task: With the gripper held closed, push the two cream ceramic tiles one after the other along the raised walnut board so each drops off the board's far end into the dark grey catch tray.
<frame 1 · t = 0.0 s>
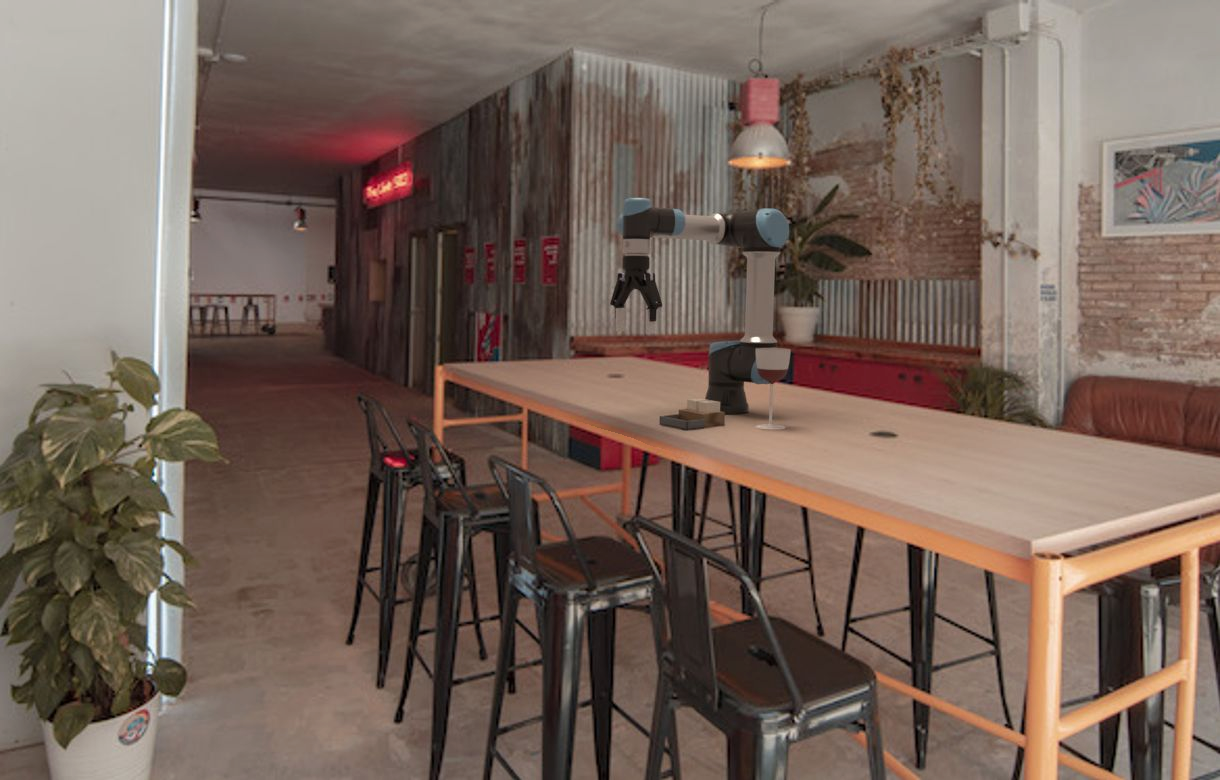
hand: (635, 332, 236), 28 cm above the table, fingers open, 13 cm apart
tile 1: (709, 411, 251), point 4 cm above the table, touching board
wineglass: (770, 427, 249), on the table
tray: (681, 426, 248), on the table
board: (701, 424, 253), on the table
tile 2: (697, 409, 255), point 4 cm above the table, touching board
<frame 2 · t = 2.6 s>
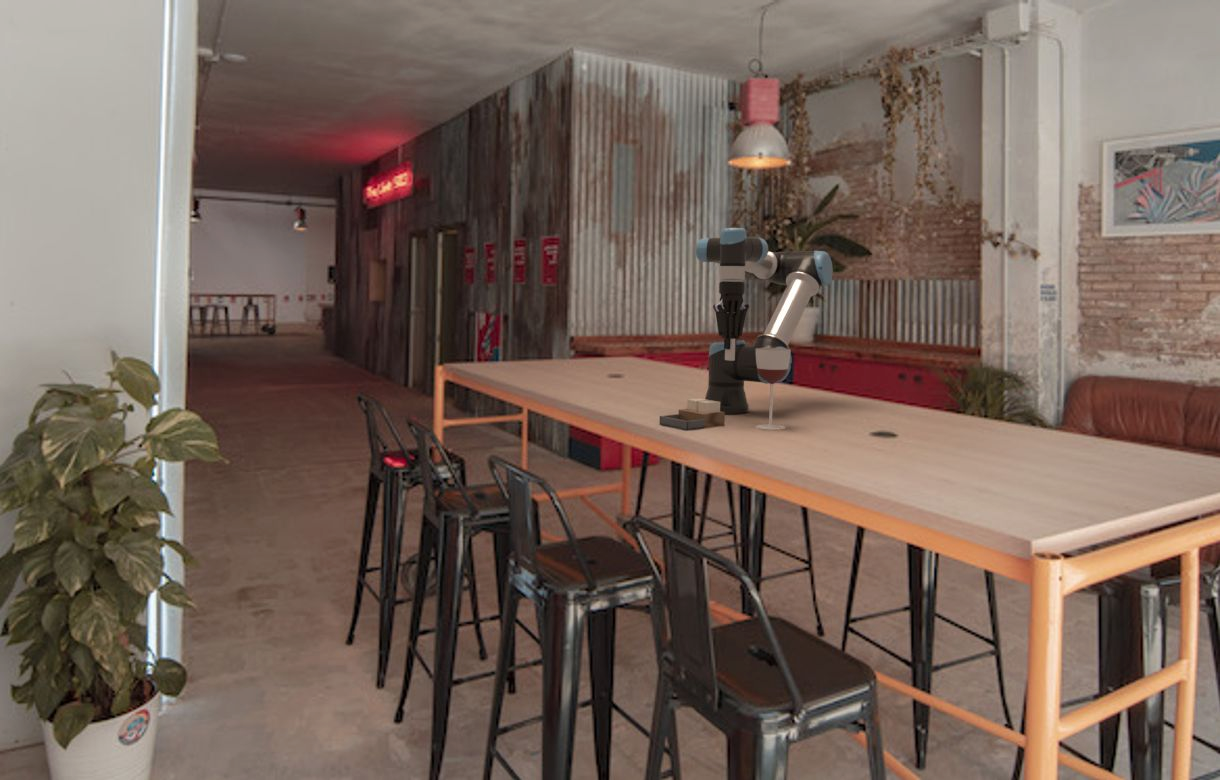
hand: (729, 360, 253), 19 cm above the table, fingers closed
nothing on the table moved.
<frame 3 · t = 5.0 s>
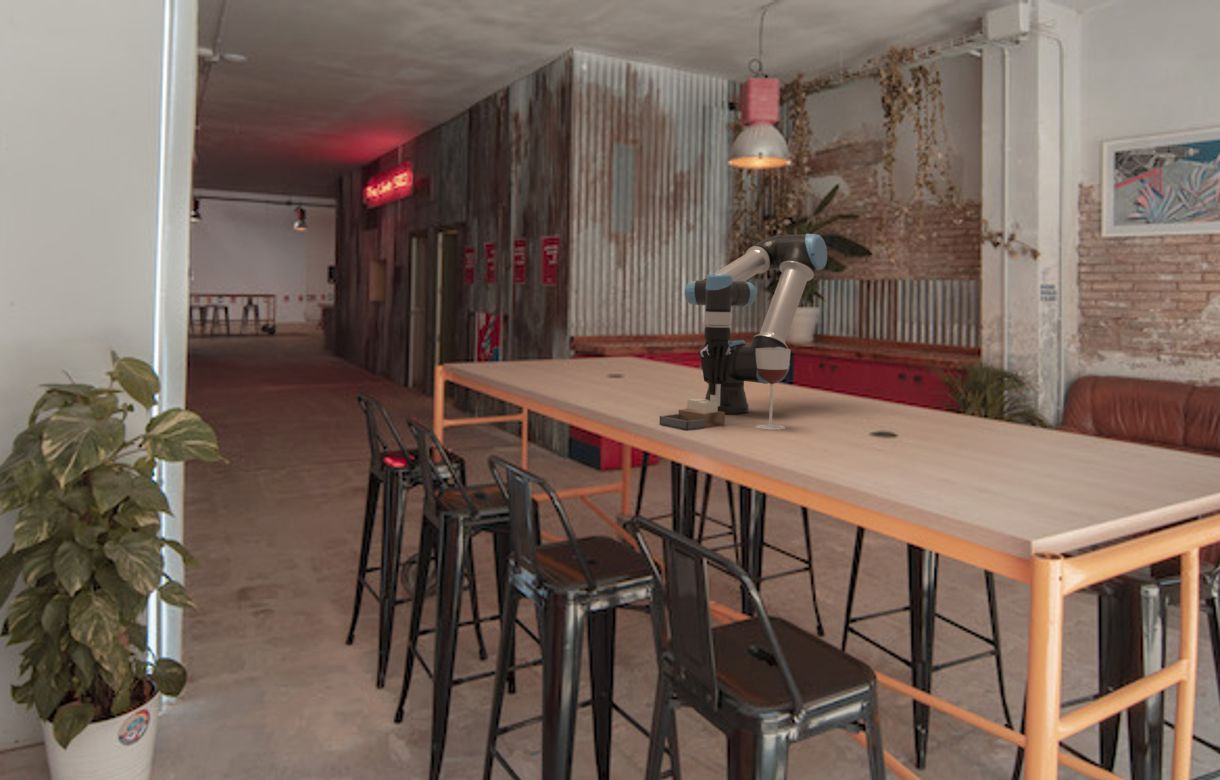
hand: (714, 405, 252), 6 cm above the table, fingers closed
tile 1: (706, 411, 250), point 4 cm above the table, touching board, gripper
everything else where it was.
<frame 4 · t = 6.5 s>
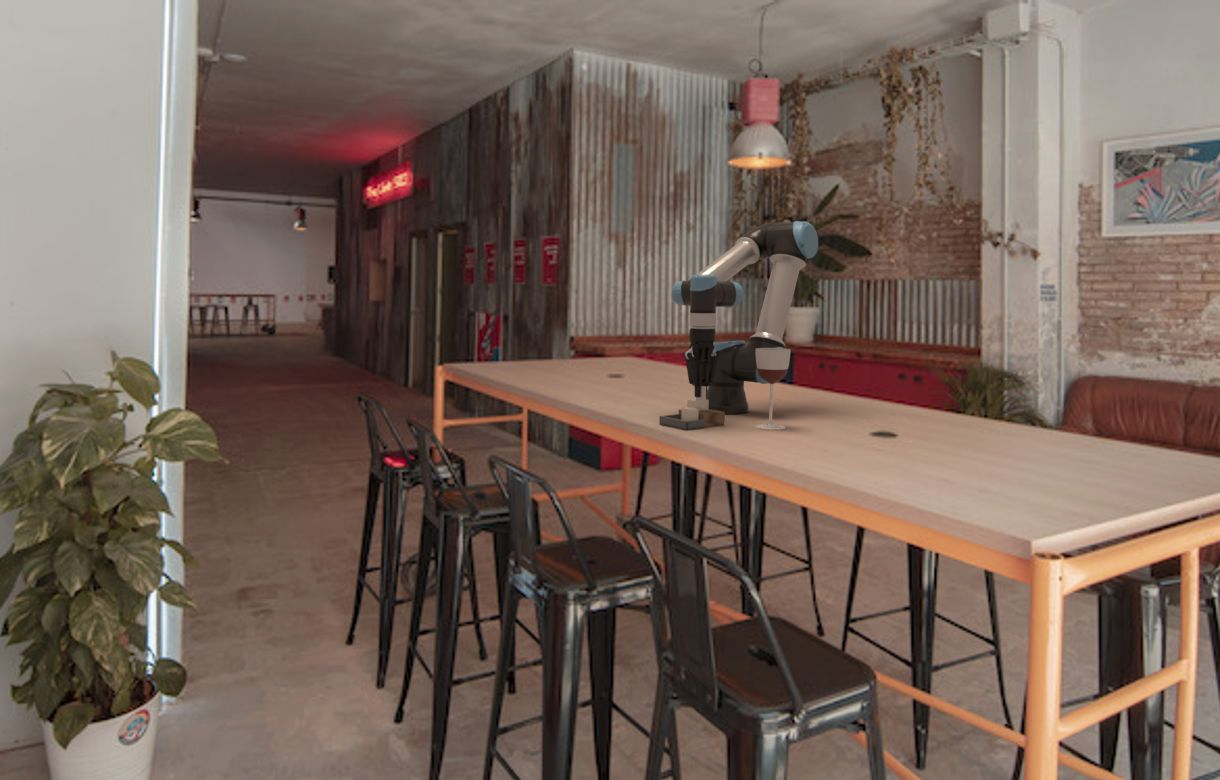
hand: (700, 407, 248), 5 cm above the table, fingers closed
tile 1: (693, 416, 247), point 3 cm above the table, tilted 90°, touching tray
everything else where it was.
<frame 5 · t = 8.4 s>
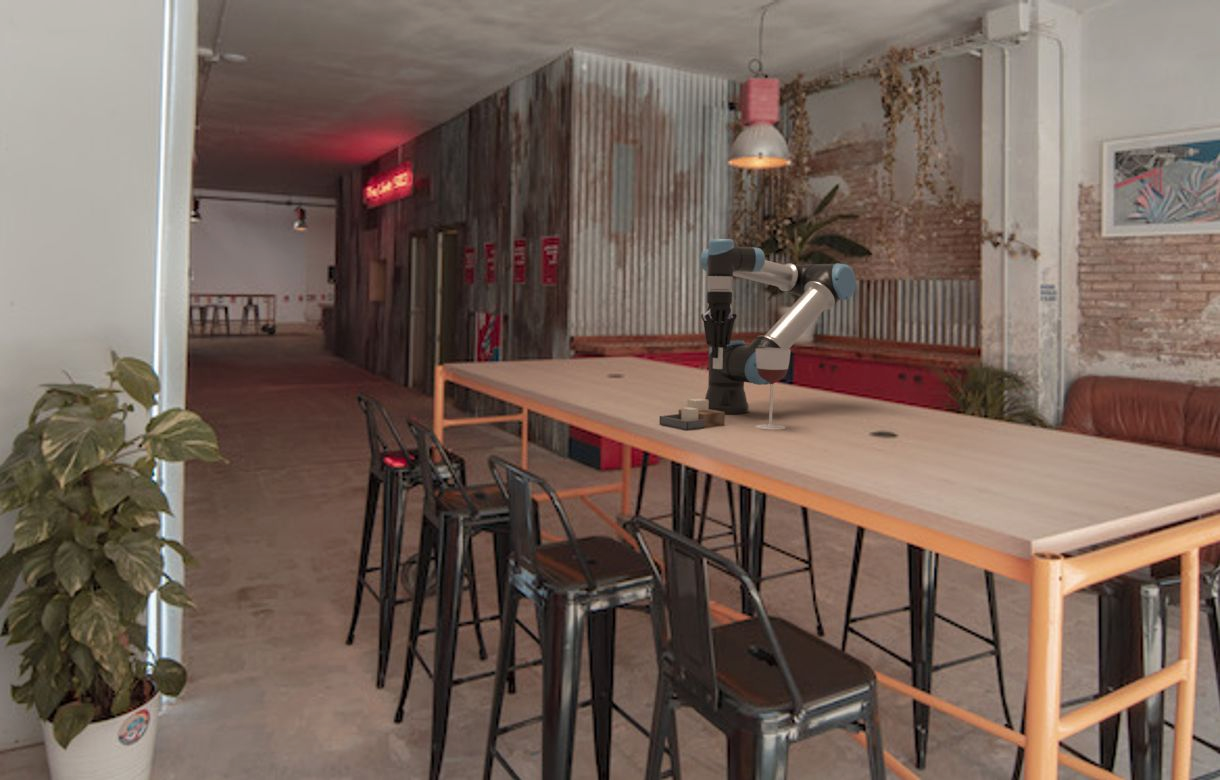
hand: (717, 368, 258), 16 cm above the table, fingers closed
nothing on the table moved.
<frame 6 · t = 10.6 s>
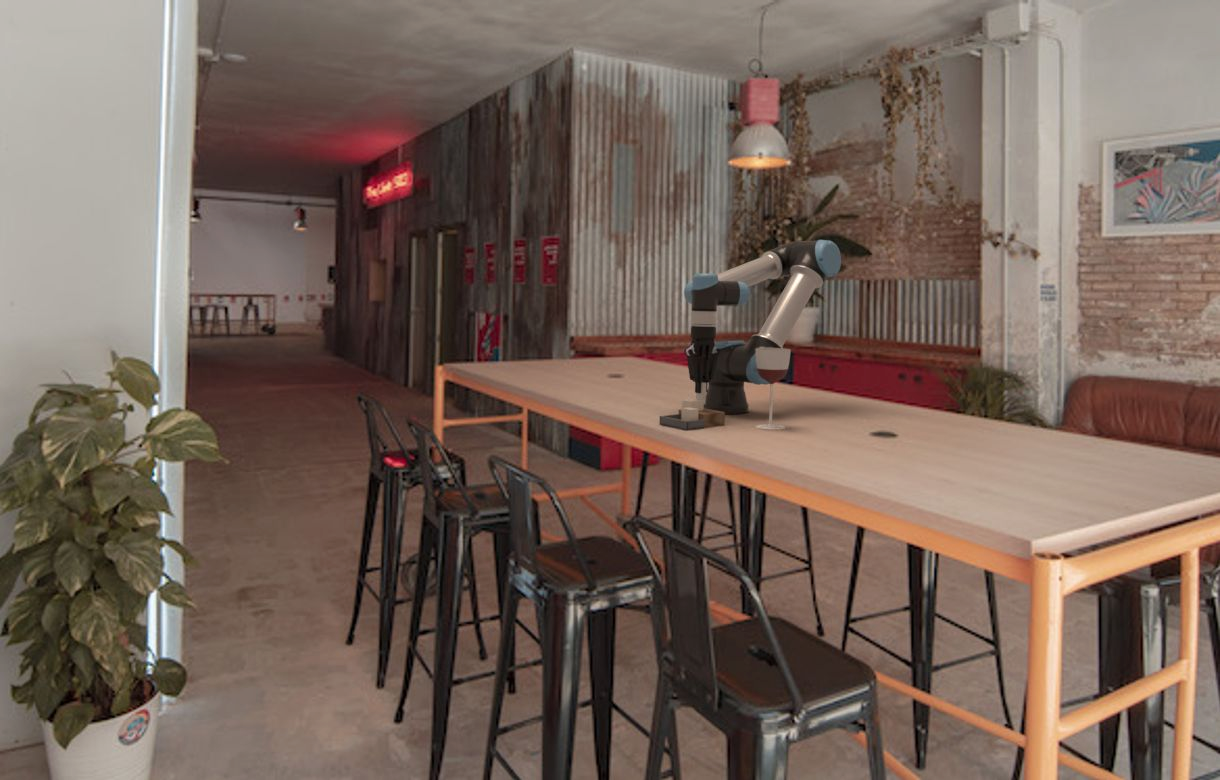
hand: (700, 403, 255), 6 cm above the table, fingers closed
tile 2: (692, 410, 253), point 4 cm above the table, touching gripper
everything else where it was.
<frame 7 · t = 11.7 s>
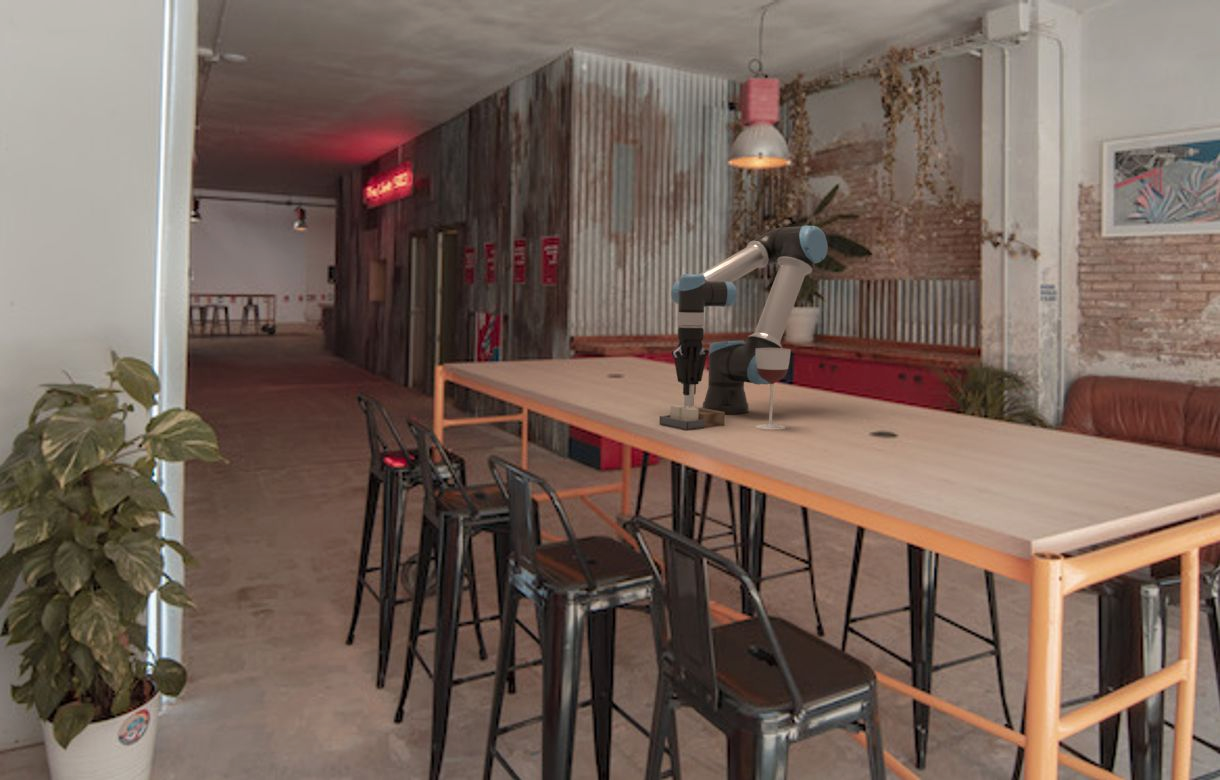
hand: (689, 405, 252), 5 cm above the table, fingers closed
tile 2: (682, 414, 251), point 3 cm above the table, tilted 90°, touching tray
everything else where it was.
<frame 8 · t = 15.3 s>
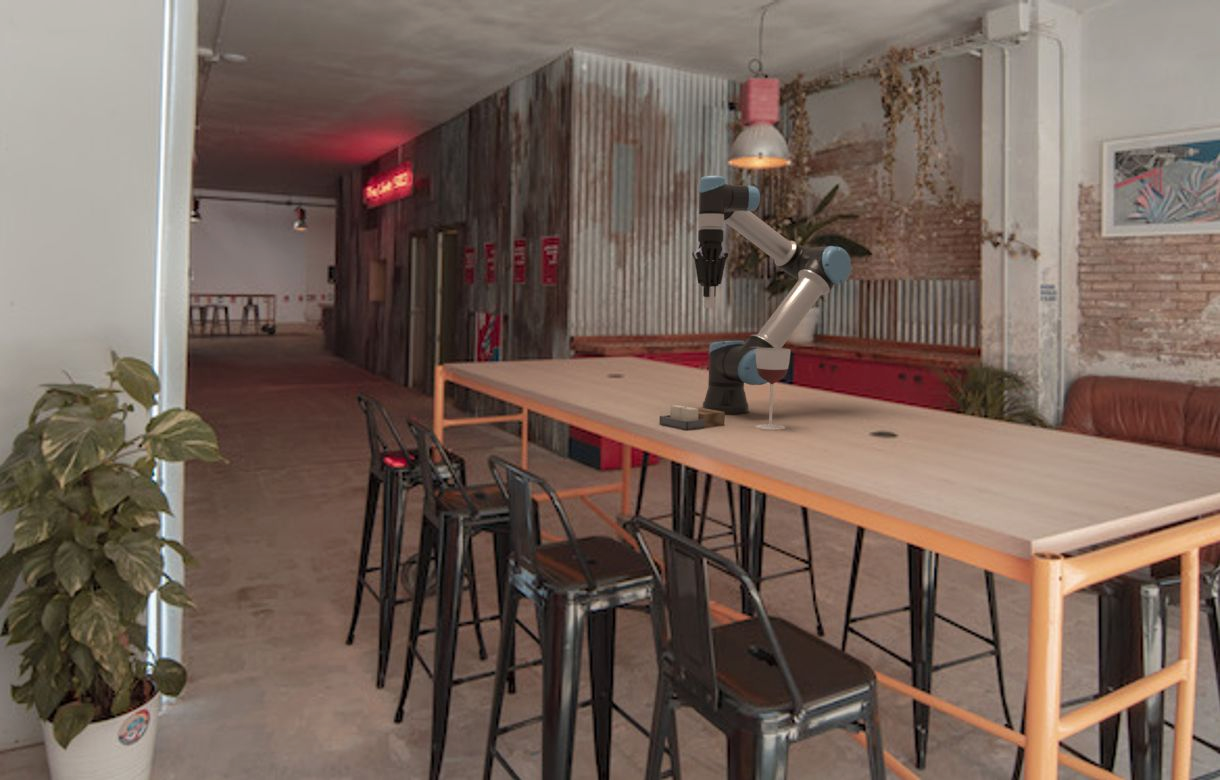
hand: (709, 307, 256), 34 cm above the table, fingers closed
nothing on the table moved.
at the end: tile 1 inside the target area (3.6 cm from its centre), point 3.1 cm above the table; tile 2 inside the target area (3.6 cm from its centre), point 3.1 cm above the table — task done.
